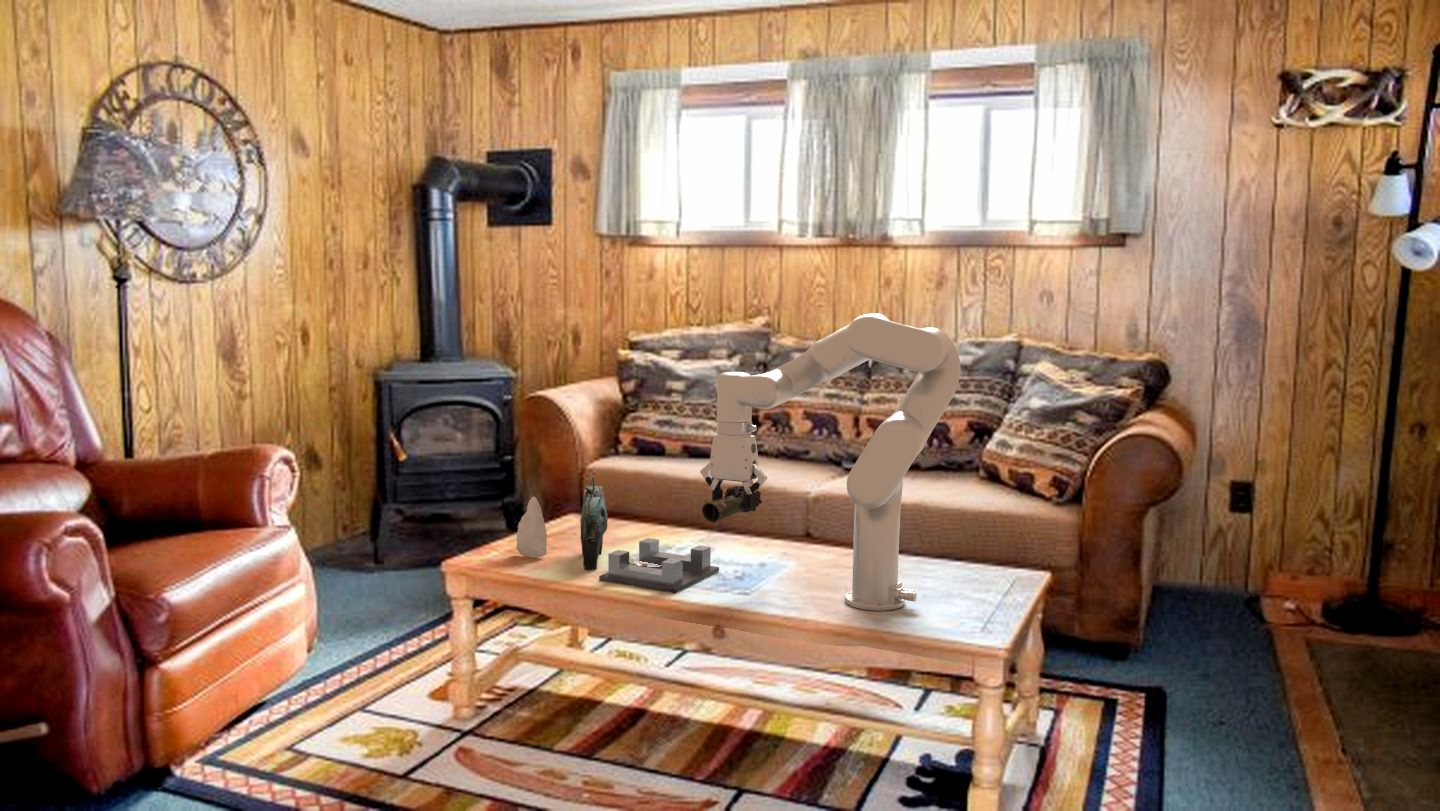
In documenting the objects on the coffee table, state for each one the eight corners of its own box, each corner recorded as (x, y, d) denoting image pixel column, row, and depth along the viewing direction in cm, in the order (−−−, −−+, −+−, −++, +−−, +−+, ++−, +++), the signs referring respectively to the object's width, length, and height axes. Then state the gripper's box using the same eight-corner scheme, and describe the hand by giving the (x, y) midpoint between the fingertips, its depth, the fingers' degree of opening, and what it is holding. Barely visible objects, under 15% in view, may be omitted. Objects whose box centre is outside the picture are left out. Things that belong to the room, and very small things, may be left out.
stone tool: (550, 556, 265) (549, 496, 264) (543, 559, 263) (543, 498, 261) (519, 553, 268) (518, 493, 266) (512, 556, 265) (511, 495, 264)
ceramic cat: (584, 549, 273) (583, 471, 270) (610, 549, 273) (609, 471, 270) (576, 571, 253) (576, 486, 250) (604, 571, 253) (604, 486, 251)
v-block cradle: (719, 571, 254) (719, 546, 253) (675, 593, 236) (675, 566, 235) (646, 560, 263) (646, 535, 262) (599, 580, 245) (599, 554, 245)
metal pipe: (719, 524, 230) (719, 498, 229) (694, 520, 234) (694, 494, 233) (766, 509, 244) (766, 484, 243) (741, 505, 248) (741, 481, 247)
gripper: (777, 429, 236) (775, 510, 238) (707, 423, 244) (706, 501, 246) (762, 434, 229) (761, 517, 231) (690, 427, 237) (690, 508, 239)
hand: (732, 508), depth 239 cm, fingers closed on metal pipe, 6 cm apart
